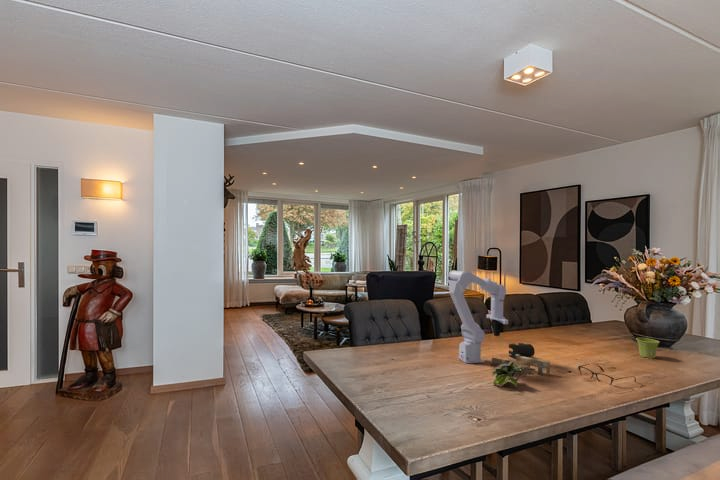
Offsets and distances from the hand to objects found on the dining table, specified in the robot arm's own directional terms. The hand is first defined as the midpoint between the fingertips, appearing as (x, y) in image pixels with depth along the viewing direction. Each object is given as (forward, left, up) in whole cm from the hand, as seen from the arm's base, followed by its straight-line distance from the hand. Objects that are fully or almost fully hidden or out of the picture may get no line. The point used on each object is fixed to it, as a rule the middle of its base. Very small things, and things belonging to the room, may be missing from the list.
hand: (496, 335), depth 171 cm
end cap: (+12, -3, -11) cm, 16 cm away
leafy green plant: (-18, -33, -11) cm, 39 cm away
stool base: (-1, -17, -10) cm, 20 cm away
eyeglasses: (+30, -33, -11) cm, 46 cm away
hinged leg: (+3, -21, -10) cm, 24 cm away
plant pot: (+81, -12, -11) cm, 82 cm away
